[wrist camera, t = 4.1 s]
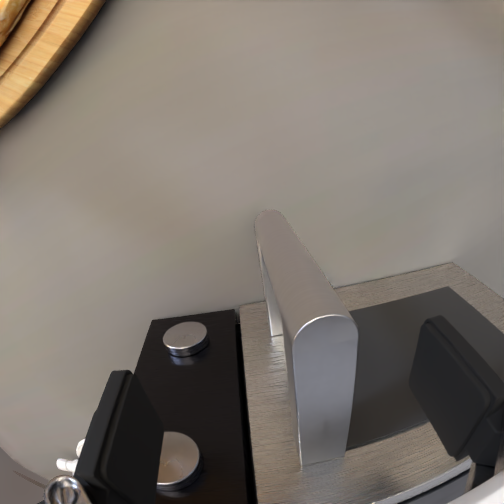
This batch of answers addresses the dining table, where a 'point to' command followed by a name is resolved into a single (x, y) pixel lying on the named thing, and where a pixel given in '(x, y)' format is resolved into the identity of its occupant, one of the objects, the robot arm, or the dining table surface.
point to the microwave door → (349, 375)
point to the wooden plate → (36, 45)
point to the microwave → (212, 413)
